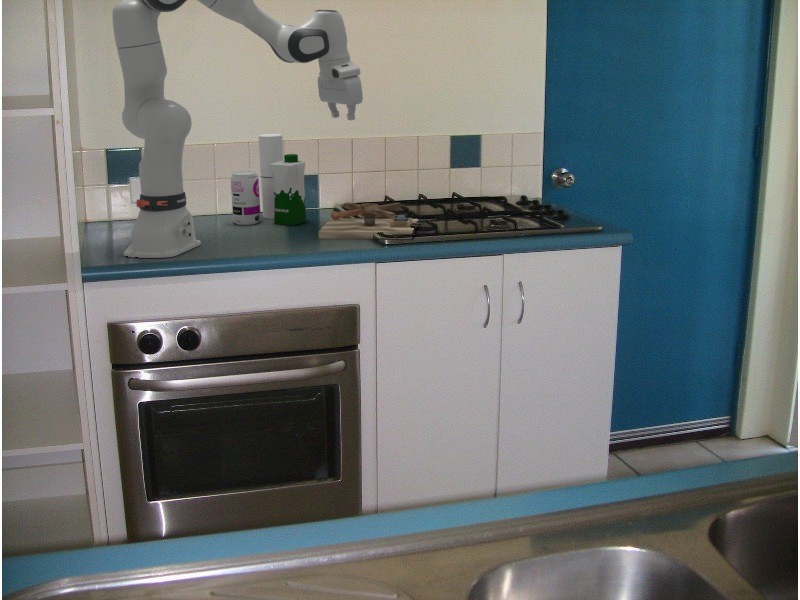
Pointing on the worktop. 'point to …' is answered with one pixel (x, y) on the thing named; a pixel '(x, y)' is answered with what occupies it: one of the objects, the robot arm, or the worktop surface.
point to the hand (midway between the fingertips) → (343, 118)
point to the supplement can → (245, 198)
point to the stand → (364, 227)
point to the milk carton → (289, 190)
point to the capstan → (367, 210)
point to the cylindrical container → (269, 169)
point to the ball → (401, 218)
